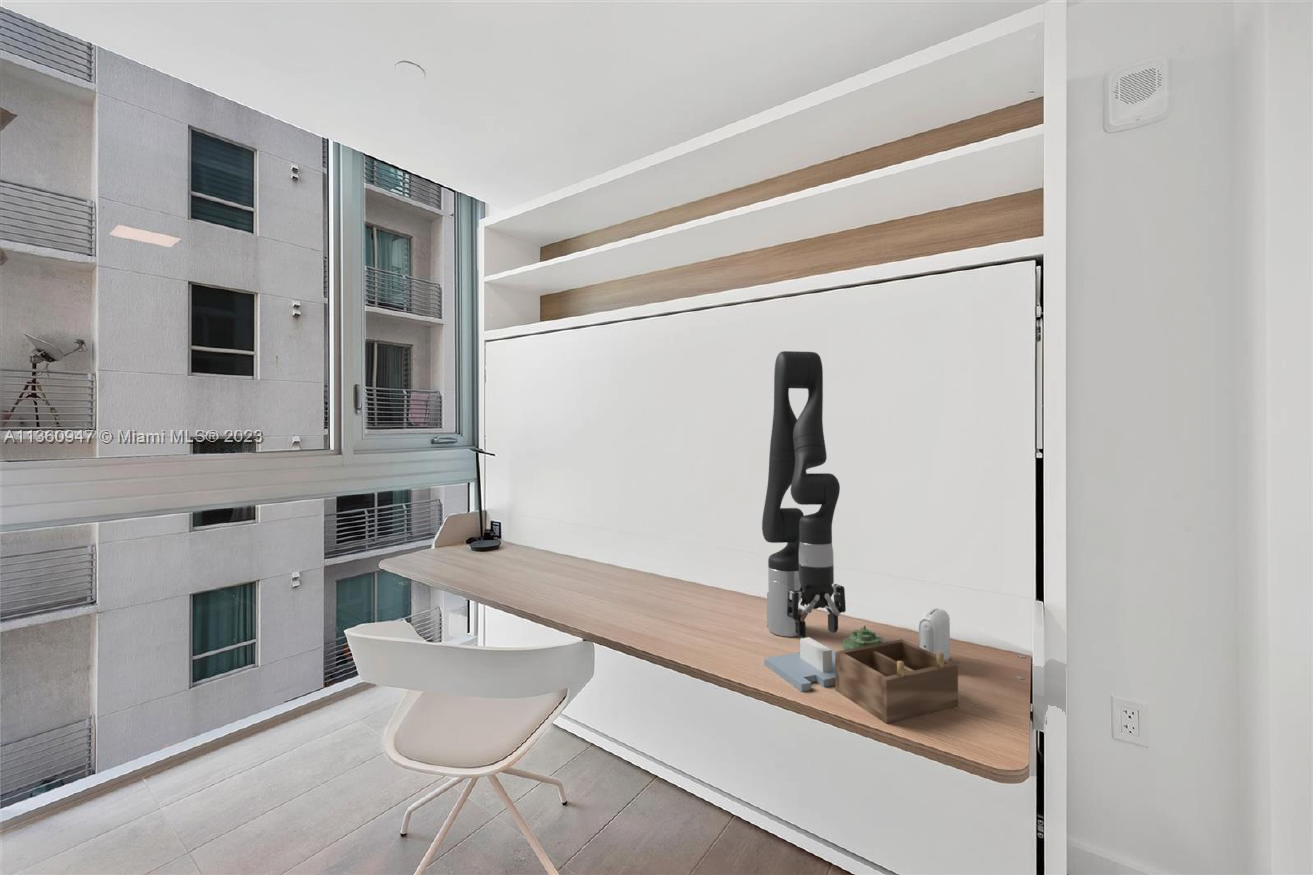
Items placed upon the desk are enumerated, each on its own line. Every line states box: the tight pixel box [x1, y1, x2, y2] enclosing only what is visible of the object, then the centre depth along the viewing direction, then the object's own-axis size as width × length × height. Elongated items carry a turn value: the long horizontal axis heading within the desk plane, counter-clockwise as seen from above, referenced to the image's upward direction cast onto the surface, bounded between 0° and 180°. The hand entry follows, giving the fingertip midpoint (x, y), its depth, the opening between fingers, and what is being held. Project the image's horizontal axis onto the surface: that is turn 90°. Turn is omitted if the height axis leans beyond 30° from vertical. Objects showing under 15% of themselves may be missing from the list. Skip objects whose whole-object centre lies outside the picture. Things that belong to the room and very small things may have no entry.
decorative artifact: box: [842, 625, 884, 650], centre depth 129 cm, size 10×7×10 cm
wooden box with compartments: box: [834, 638, 959, 725], centre depth 108 cm, size 14×18×10 cm
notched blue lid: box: [764, 636, 837, 693], centre depth 120 cm, size 14×18×6 cm
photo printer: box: [918, 607, 951, 661], centre depth 124 cm, size 10×4×12 cm, turn 133°
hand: (817, 634), depth 120 cm, fingers open, 8 cm apart
